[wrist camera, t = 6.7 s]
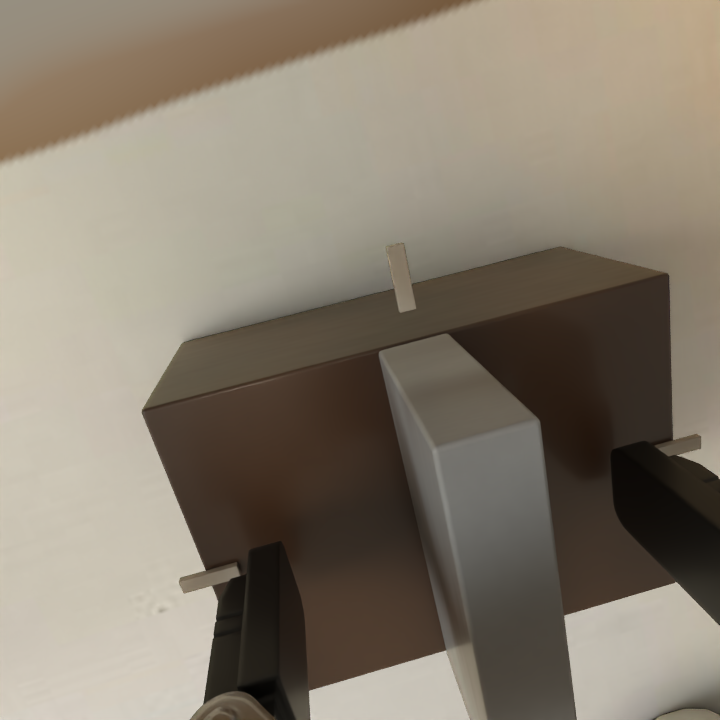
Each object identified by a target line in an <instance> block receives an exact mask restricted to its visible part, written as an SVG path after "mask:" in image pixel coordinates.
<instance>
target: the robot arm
mask: <svg viewBox="0 0 720 720" xmlns="http://www.w3.org/2000/svg"><path fill="white" fill-rule="evenodd" d="M610 462H611V477H612V491H613V504H614V508H615V512H616V514H617V517H618V519H619V521H620V522H621V524H622V525H623V527H624V528H625V529H626V530H627V531H628V532H629V533H630V534H631V536H632V537H633V538H634V539H635V540H636V541H637V542H638V543H639V544H640V545H641V546H642V547H643V548H644V549H645V550H646V551H647V552H648V553H649V554H650V555H651V556H652V557H653V558H654V559H655V560H656V561H657V562H658V563H659V564H660V565H661V566H662V567H663V568H664V569H665V570H666V571H667V572H668V573H669V574H670V575H671V576H672V577H673V578H674V579H675V580H676V582H677V583H678V584H679V585H680V586H681V587H682V588H683V589H684V590H685V591H686V592H687V593H688V594H689V595H690V596H691V597H692V598H693V599H694V600H695V601H696V602H697V603H698V604H699V605H700V606H701V607H702V608H703V609H704V610H705V611H706V612H707V613H708V614H709V615H710V616H711V617H712V618H713V619H714V620H715V621H716V622H717V623H718V624H719V625H720V479H718V476H717V475H715V474H714V473H712V472H711V471H709V470H708V469H706V468H705V467H703V466H702V465H700V464H699V463H696V462H693V461H691V460H688V459H685V458H682V457H679V456H677V455H672V456H667V455H666V454H665V453H663V452H662V451H660V450H659V449H658V448H656V447H655V446H654V445H652V444H651V443H649V442H647V441H640V442H637V443H633V444H629V445H626V446H622V447H619V448H615V449H613V450H612V451H611V454H610ZM216 620H217V622H215V629H214V639H213V642H212V649H211V656H210V663H209V670H208V677H207V683H206V690H205V697H204V703H203V706H202V707H200V708H199V709H198V710H197V711H196V713H195V714H194V715H193V716H192V718H191V719H190V720H310V705H309V687H308V669H307V651H306V633H305V617H304V610H303V605H302V600H301V596H300V593H299V589H298V586H297V583H296V581H295V578H294V575H293V572H292V569H291V566H290V563H289V560H288V557H287V554H286V551H285V548H284V545H283V543H282V542H281V541H278V542H274V543H271V544H267V545H264V546H260V547H256V548H253V549H250V550H249V552H248V562H247V574H245V575H242V576H238V577H235V578H231V579H230V580H229V582H228V584H227V585H226V587H225V589H224V591H223V592H222V594H221V596H220V597H219V601H218V608H217V615H216Z"/></svg>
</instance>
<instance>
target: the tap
mask: <svg viewBox="0 0 720 720" xmlns="http://www.w3.org/2000/svg"><path fill="white" fill-rule="evenodd" d="M379 359H380V364H381V368H382V372H383V377H384V381H385V385H386V390H387V394H388V398H389V403H390V407H391V412H392V416H393V420H394V425H395V429H396V433H397V438H398V442H399V446H400V451H401V455H402V459H403V464H404V468H405V473H406V477H407V481H408V486H409V490H410V494H411V499H412V503H413V507H414V512H415V516H416V520H417V525H418V529H419V533H420V538H421V542H422V547H423V551H424V555H425V560H426V564H427V568H428V573H429V577H430V581H431V586H432V590H433V594H434V599H435V603H436V608H437V612H438V616H439V621H440V625H441V629H442V634H443V638H444V642H445V647H446V651H447V655H448V658H449V661H450V663H451V666H452V669H453V672H454V675H455V678H456V681H457V684H458V686H459V689H460V692H461V695H462V698H463V701H464V704H465V707H466V709H467V712H468V715H469V718H470V720H577V718H576V710H575V702H574V694H573V686H572V678H571V669H570V661H569V653H568V645H567V637H566V629H565V621H564V612H563V604H562V596H561V588H560V580H559V572H558V564H557V556H556V547H555V539H554V531H553V523H552V515H551V507H550V499H549V490H548V482H547V474H546V466H545V458H544V450H543V442H542V434H541V425H540V421H539V419H538V418H537V417H536V416H535V415H534V414H533V413H532V412H531V411H530V410H529V409H528V408H526V407H525V406H524V405H523V404H522V403H521V402H520V401H519V400H518V399H517V398H516V397H515V396H514V395H513V394H512V393H510V392H509V391H508V390H507V389H506V388H505V387H504V386H503V385H502V384H501V383H500V382H499V381H498V380H497V379H496V378H495V377H493V376H492V375H491V374H490V373H489V372H488V371H487V370H486V369H485V368H484V367H483V366H482V365H481V364H480V363H479V362H478V361H476V360H475V359H474V358H473V357H472V356H471V355H470V354H469V353H468V352H467V351H466V350H465V349H464V348H463V347H462V346H460V345H459V344H458V343H457V342H456V341H455V340H454V339H453V338H452V337H451V336H450V335H449V334H442V335H438V336H434V337H430V338H427V339H423V340H419V341H415V342H411V343H408V344H404V345H400V346H396V347H392V348H389V349H385V350H382V351H380V352H379Z"/></svg>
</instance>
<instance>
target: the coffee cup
mask: <svg viewBox="0 0 720 720" xmlns="http://www.w3.org/2000/svg"><path fill="white" fill-rule="evenodd" d="M655 720H720V715H718V714H716V713H714V712H712V711H710V710H708V709H682V710H678V711H675V712H672V713H668V714H665V715H661V716H659V717H658V718H656V719H655Z"/></svg>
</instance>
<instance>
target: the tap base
mask: <svg viewBox="0 0 720 720" xmlns="http://www.w3.org/2000/svg"><path fill="white" fill-rule="evenodd" d="M386 252H387V257H388V262H389V266H390V271H391V276H392V281H393V286H394V289H392V290H388V291H384V292H380V293H376V294H372V295H368V296H365V297H361V298H357V299H353V300H349V301H345V302H341V303H337V304H333V305H329V306H325V307H321V308H317V309H313V310H309V311H306V312H302V313H298V314H294V315H290V316H286V317H282V318H278V319H274V320H270V321H266V322H262V323H258V324H254V325H250V326H247V327H243V328H239V329H235V330H231V331H227V332H223V333H219V334H215V335H211V336H207V337H203V338H199V339H195V340H191V341H188V342H184V343H182V344H181V345H180V347H179V349H178V350H177V352H176V354H175V355H174V357H173V359H172V361H171V362H170V364H169V366H168V367H167V369H166V371H165V372H164V374H163V376H162V377H161V379H160V381H159V382H158V384H157V386H156V387H155V389H154V391H153V392H152V394H151V396H150V397H149V399H148V401H147V402H146V404H145V406H144V408H143V409H142V414H143V417H144V419H145V422H146V424H147V427H148V429H149V432H150V434H151V437H152V439H153V441H154V444H155V446H156V449H157V451H158V454H159V456H160V459H161V461H162V464H163V466H164V469H165V471H166V474H167V476H168V478H169V481H170V483H171V486H172V488H173V491H174V493H175V496H176V498H177V501H178V503H179V506H180V508H181V510H182V513H183V515H184V518H185V520H186V523H187V525H188V528H189V530H190V533H191V535H192V538H193V540H194V542H195V545H196V547H197V550H198V552H199V555H200V557H201V560H202V562H203V565H204V567H205V570H206V571H203V572H199V573H196V574H192V575H188V576H185V577H181V578H180V580H179V584H180V586H181V588H182V591H183V593H188V592H191V591H195V590H198V589H202V588H205V587H209V586H212V587H213V589H214V592H215V594H216V597H217V599H218V601H219V597H220V596H221V594H222V592H223V591H224V589H225V587H226V585H227V584H228V582H229V580H230V579H231V578H235V577H238V576H242V575H245V574H247V562H248V552H249V550H250V549H253V548H256V547H260V546H264V545H267V544H271V543H274V542H278V541H281V542H282V543H283V545H284V548H285V551H286V554H287V557H288V560H289V563H290V566H291V569H292V572H293V575H294V578H295V581H296V583H297V586H298V589H299V593H300V596H301V600H302V605H303V610H304V617H305V633H306V651H307V669H308V687H309V691H310V690H313V689H316V688H320V687H323V686H327V685H330V684H333V683H337V682H340V681H344V680H347V679H350V678H354V677H357V676H361V675H364V674H367V673H371V672H374V671H377V670H381V669H384V668H388V667H391V666H394V665H398V664H401V663H405V662H408V661H411V660H415V659H418V658H422V657H425V656H428V655H432V654H435V653H438V652H442V651H445V650H446V647H445V642H444V638H443V634H442V629H441V625H440V621H439V616H438V612H437V608H436V603H435V599H434V594H433V590H432V586H431V581H430V577H429V573H428V568H427V564H426V560H425V555H424V551H423V547H422V542H421V538H420V533H419V529H418V525H417V520H416V516H415V512H414V507H413V503H412V499H411V494H410V490H409V486H408V481H407V477H406V473H405V468H404V464H403V459H402V455H401V451H400V446H399V442H398V438H397V433H396V429H395V425H394V420H393V416H392V412H391V407H390V403H389V398H388V394H387V390H386V385H385V381H384V377H383V372H382V368H381V364H380V359H379V352H380V351H382V350H385V349H389V348H392V347H396V346H400V345H404V344H408V343H411V342H415V341H419V340H423V339H427V338H430V337H434V336H438V335H442V334H449V335H450V336H451V337H452V338H453V339H454V340H455V341H456V342H457V343H458V344H459V345H460V346H462V347H463V348H464V349H465V350H466V351H467V352H468V353H469V354H470V355H471V356H472V357H473V358H474V359H475V360H476V361H478V362H479V363H480V364H481V365H482V366H483V367H484V368H485V369H486V370H487V371H488V372H489V373H490V374H491V375H492V376H493V377H495V378H496V379H497V380H498V381H499V382H500V383H501V384H502V385H503V386H504V387H505V388H506V389H507V390H508V391H509V392H510V393H512V394H513V395H514V396H515V397H516V398H517V399H518V400H519V401H520V402H521V403H522V404H523V405H524V406H525V407H526V408H528V409H529V410H530V411H531V412H532V413H533V414H534V415H535V416H536V417H537V418H538V419H539V421H540V425H541V434H542V442H543V450H544V458H545V466H546V474H547V482H548V490H549V499H550V507H551V515H552V523H553V531H554V539H555V547H556V556H557V564H558V572H559V580H560V588H561V596H562V604H563V612H564V615H567V614H571V613H574V612H577V611H581V610H584V609H588V608H591V607H594V606H598V605H601V604H605V603H608V602H611V601H615V600H618V599H622V598H625V597H628V596H632V595H635V594H639V593H642V592H645V591H649V590H652V589H655V588H659V587H662V586H666V585H669V584H672V583H675V582H676V580H675V579H674V578H673V577H672V576H671V575H670V574H669V573H668V572H667V571H666V570H665V569H664V568H663V567H662V566H661V565H660V564H659V563H658V562H657V561H656V560H655V559H654V558H653V557H652V556H651V555H650V554H649V553H648V552H647V551H646V550H645V549H644V548H643V547H642V546H641V545H640V544H639V543H638V542H637V541H636V540H635V539H634V538H633V537H632V536H631V534H630V533H629V532H628V531H627V530H626V529H625V528H624V527H623V525H622V524H621V522H620V521H619V519H618V517H617V514H616V512H615V508H614V504H613V491H612V477H611V462H610V454H611V451H612V450H613V449H615V448H619V447H622V446H626V445H629V444H633V443H637V442H640V441H647V442H649V443H651V444H652V445H654V446H655V447H656V448H658V449H659V450H660V451H662V452H663V453H665V454H666V455H667V456H672V455H679V454H683V453H686V452H690V451H693V450H697V449H700V448H701V436H699V435H698V434H694V435H690V436H687V437H683V438H679V439H676V440H673V424H672V379H671V335H670V290H669V275H668V273H664V272H660V271H656V270H652V269H648V268H644V267H640V266H636V265H632V264H628V263H624V262H620V261H616V260H612V259H608V258H604V257H600V256H596V255H592V254H588V253H584V252H580V251H576V250H572V249H568V248H564V247H557V248H553V249H549V250H546V251H542V252H538V253H534V254H530V255H526V256H522V257H518V258H514V259H510V260H506V261H502V262H498V263H494V264H490V265H486V266H483V267H479V268H475V269H471V270H467V271H463V272H459V273H455V274H451V275H447V276H443V277H439V278H435V279H431V280H427V281H424V282H420V283H416V284H412V283H411V278H410V273H409V268H408V263H407V257H406V252H405V247H404V243H398V244H394V245H390V246H386Z"/></svg>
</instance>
